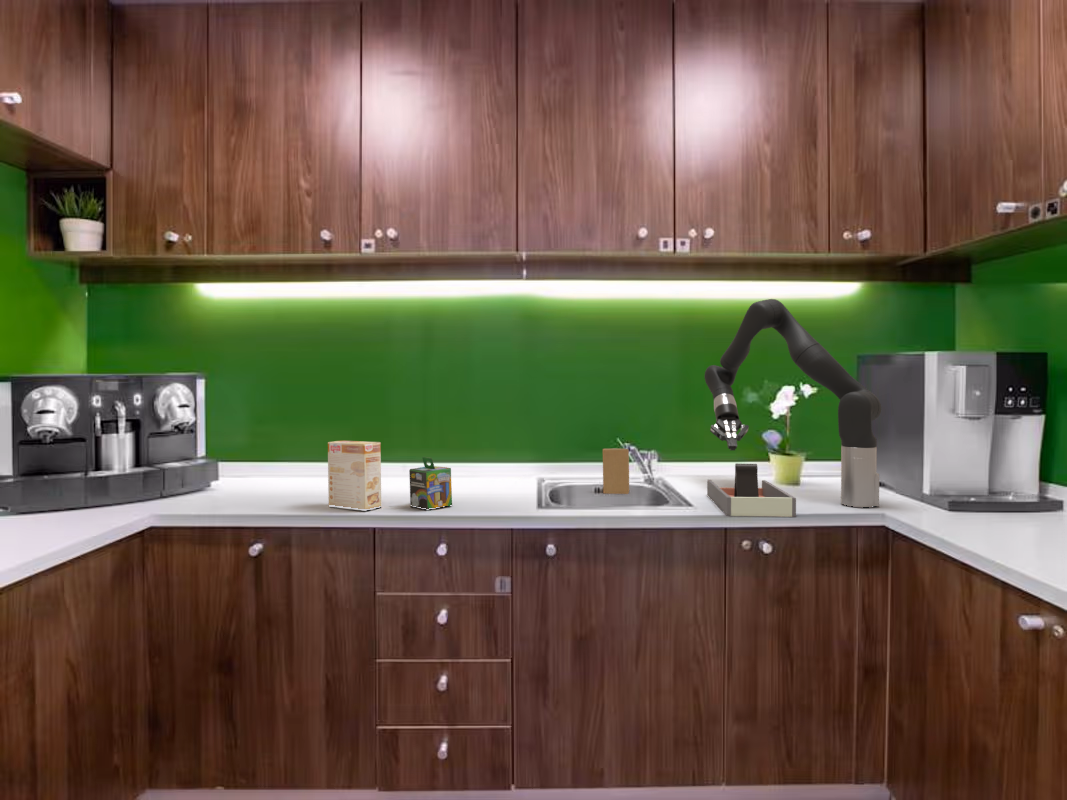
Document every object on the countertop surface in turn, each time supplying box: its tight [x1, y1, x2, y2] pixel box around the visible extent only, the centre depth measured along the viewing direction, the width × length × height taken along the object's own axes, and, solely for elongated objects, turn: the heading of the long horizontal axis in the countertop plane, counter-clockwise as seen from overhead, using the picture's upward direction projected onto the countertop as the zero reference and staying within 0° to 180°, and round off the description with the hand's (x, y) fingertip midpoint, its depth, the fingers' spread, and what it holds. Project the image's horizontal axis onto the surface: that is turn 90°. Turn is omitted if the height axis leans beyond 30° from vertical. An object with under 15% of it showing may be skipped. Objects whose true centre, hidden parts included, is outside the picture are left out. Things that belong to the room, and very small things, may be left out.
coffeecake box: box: [327, 440, 382, 509], centre depth 189 cm, size 15×7×20 cm, turn 59°
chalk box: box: [409, 456, 453, 509], centre depth 190 cm, size 9×9×15 cm
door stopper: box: [733, 463, 759, 497], centre depth 192 cm, size 9×6×12 cm, turn 170°
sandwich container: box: [602, 448, 630, 495], centre depth 218 cm, size 9×15×15 cm, turn 170°
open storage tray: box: [706, 479, 797, 518], centre depth 190 cm, size 18×32×5 cm, turn 174°
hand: (733, 448), depth 210 cm, fingers closed
